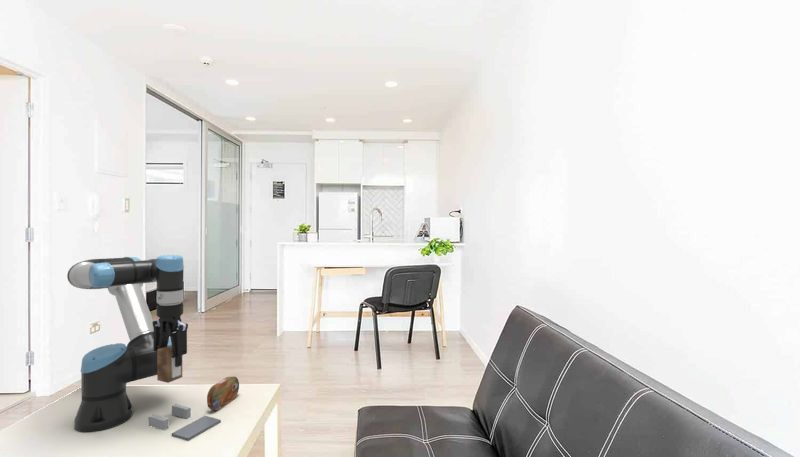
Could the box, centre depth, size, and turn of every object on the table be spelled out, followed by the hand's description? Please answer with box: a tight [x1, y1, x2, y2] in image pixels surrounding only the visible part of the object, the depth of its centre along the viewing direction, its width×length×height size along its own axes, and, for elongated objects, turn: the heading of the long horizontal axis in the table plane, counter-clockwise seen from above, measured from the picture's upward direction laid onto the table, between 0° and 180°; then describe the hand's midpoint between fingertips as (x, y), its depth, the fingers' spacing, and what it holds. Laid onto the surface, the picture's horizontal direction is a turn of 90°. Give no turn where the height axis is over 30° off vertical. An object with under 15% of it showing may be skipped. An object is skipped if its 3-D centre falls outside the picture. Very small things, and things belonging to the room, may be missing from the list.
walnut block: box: [156, 345, 183, 384], centre depth 128 cm, size 5×5×10 cm
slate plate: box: [171, 415, 222, 442], centre depth 124 cm, size 7×12×1 cm, turn 157°
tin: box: [206, 375, 240, 411], centre depth 141 cm, size 15×3×8 cm, turn 168°
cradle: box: [148, 403, 192, 431], centre depth 128 cm, size 7×10×3 cm
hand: (170, 374), depth 128 cm, fingers closed on walnut block, 5 cm apart
